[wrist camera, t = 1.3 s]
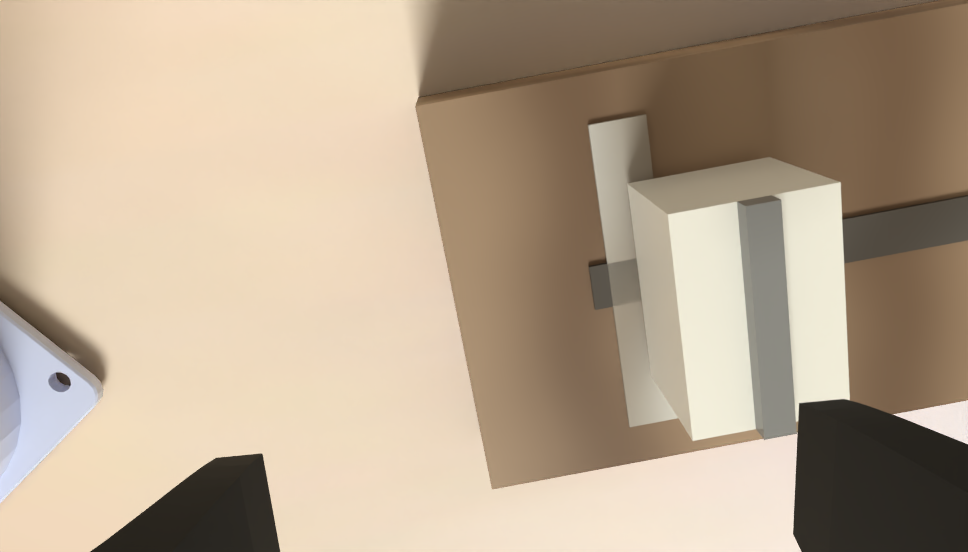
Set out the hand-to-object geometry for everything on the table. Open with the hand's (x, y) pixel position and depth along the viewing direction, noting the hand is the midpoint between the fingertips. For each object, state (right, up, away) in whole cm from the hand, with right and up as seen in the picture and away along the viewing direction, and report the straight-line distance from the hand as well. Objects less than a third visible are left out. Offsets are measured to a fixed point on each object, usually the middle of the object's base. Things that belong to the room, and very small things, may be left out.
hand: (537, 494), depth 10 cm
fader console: (+8, +5, +9) cm, 13 cm away
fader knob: (+4, +3, +6) cm, 8 cm away
